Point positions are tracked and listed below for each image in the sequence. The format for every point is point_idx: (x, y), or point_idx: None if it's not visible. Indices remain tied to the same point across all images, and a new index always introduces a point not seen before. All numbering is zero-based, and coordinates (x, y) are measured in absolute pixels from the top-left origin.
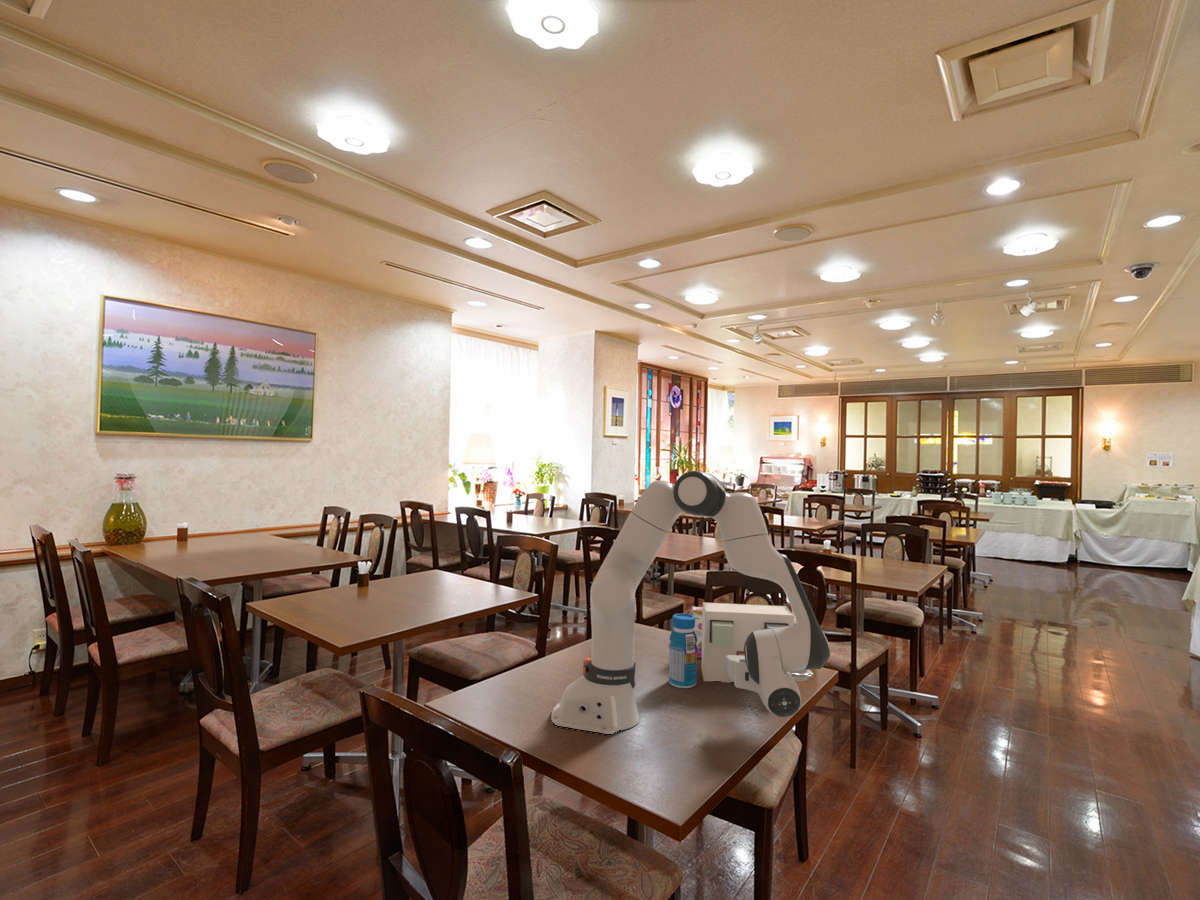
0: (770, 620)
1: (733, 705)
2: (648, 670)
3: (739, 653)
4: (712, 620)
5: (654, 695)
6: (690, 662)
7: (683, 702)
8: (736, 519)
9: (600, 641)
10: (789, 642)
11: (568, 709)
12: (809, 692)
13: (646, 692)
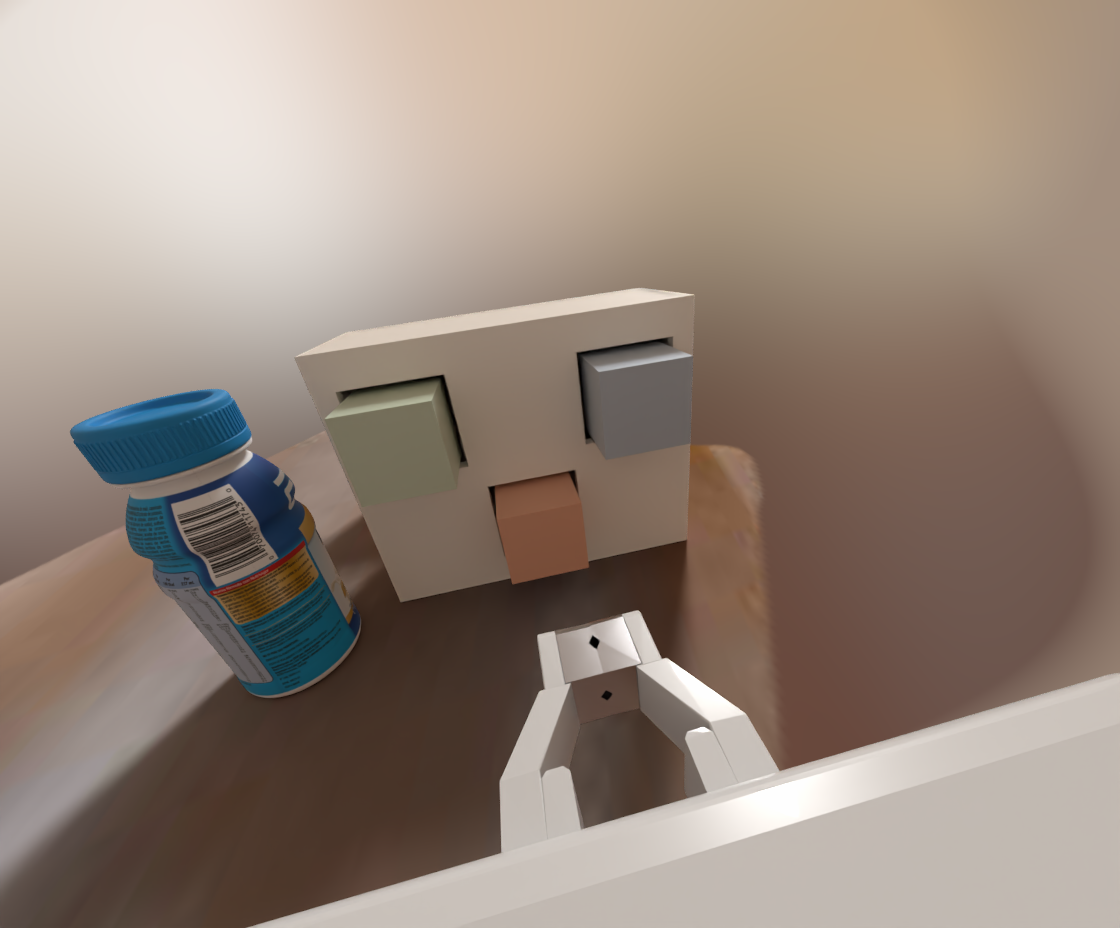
0: (600, 338)
1: (476, 811)
2: None
3: (499, 493)
4: (355, 392)
5: (77, 843)
6: (270, 608)
7: (194, 891)
8: None
9: None
10: None
11: None
12: (751, 558)
13: (61, 815)
